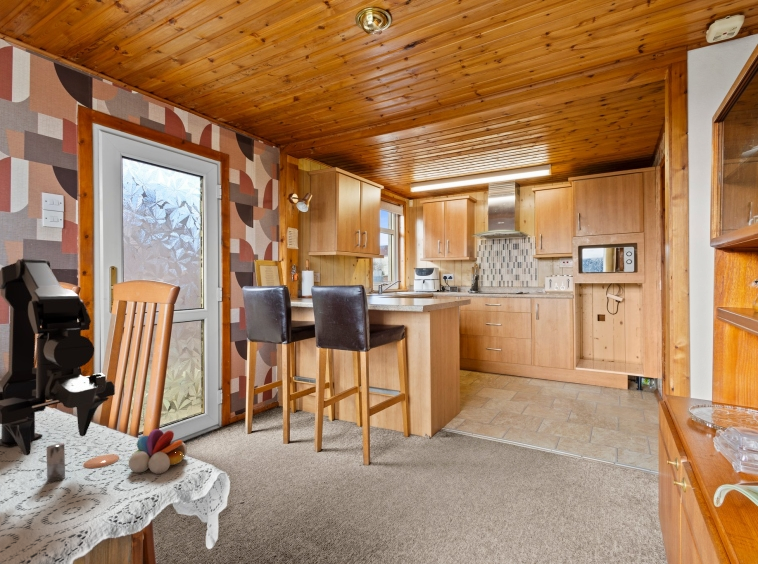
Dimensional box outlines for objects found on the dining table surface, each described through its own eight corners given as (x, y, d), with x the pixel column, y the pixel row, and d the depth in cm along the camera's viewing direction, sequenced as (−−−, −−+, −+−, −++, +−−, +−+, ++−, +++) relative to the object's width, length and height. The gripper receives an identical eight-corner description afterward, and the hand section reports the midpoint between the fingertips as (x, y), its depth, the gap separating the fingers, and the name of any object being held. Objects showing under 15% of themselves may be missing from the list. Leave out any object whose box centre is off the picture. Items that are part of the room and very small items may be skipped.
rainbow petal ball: (168, 477, 75) (168, 439, 75) (120, 475, 76) (120, 437, 76) (193, 457, 83) (193, 423, 83) (149, 455, 84) (149, 421, 84)
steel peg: (43, 481, 73) (42, 448, 73) (56, 475, 75) (55, 443, 76) (55, 481, 72) (55, 448, 73) (68, 475, 75) (68, 443, 75)
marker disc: (76, 465, 79) (76, 464, 79) (106, 453, 85) (106, 452, 85) (96, 470, 77) (96, 469, 77) (125, 457, 83) (125, 457, 83)
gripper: (22, 376, 62) (22, 475, 62) (134, 355, 80) (133, 433, 80) (-18, 370, 66) (-18, 463, 66) (97, 352, 84) (96, 425, 84)
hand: (56, 444), depth 74 cm, fingers open, 9 cm apart
